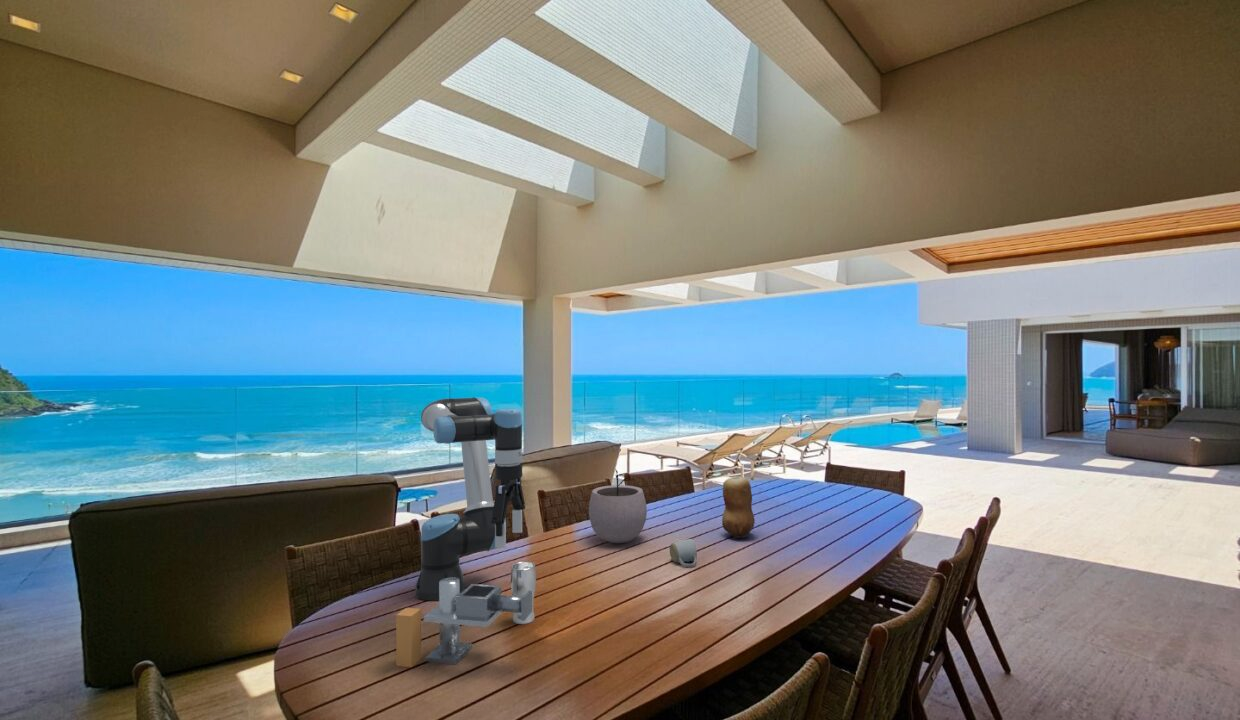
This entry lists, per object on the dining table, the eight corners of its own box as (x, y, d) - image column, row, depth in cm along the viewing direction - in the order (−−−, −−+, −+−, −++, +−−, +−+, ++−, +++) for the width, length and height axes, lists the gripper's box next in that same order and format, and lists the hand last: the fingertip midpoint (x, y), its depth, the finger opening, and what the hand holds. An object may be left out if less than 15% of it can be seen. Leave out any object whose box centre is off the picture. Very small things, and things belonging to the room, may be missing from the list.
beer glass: (524, 627, 145) (524, 571, 145) (505, 621, 149) (505, 567, 149) (541, 617, 151) (540, 564, 151) (522, 611, 154) (522, 559, 155)
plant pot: (648, 550, 207) (647, 473, 207) (587, 551, 207) (586, 473, 208) (646, 532, 231) (645, 462, 231) (591, 532, 231) (590, 463, 232)
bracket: (456, 617, 127) (456, 596, 127) (472, 603, 135) (471, 583, 135) (522, 623, 124) (521, 601, 124) (534, 608, 131) (534, 588, 132)
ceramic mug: (668, 559, 196) (668, 538, 196) (688, 556, 199) (688, 536, 199) (681, 569, 186) (680, 548, 186) (701, 566, 189) (701, 545, 189)
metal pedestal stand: (423, 663, 127) (423, 587, 128) (445, 642, 137) (445, 572, 138) (487, 670, 124) (487, 592, 124) (505, 648, 134) (504, 576, 134)
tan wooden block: (396, 665, 127) (396, 614, 127) (406, 656, 130) (406, 607, 131) (411, 667, 126) (411, 616, 126) (421, 658, 130) (420, 608, 130)
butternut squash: (718, 532, 228) (717, 474, 228) (748, 531, 229) (747, 473, 230) (728, 543, 214) (727, 480, 215) (760, 541, 215) (759, 479, 216)
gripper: (505, 472, 137) (506, 555, 136) (534, 457, 162) (535, 527, 161) (478, 472, 138) (478, 554, 138) (511, 456, 163) (511, 526, 162)
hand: (509, 539), depth 149 cm, fingers open, 13 cm apart
